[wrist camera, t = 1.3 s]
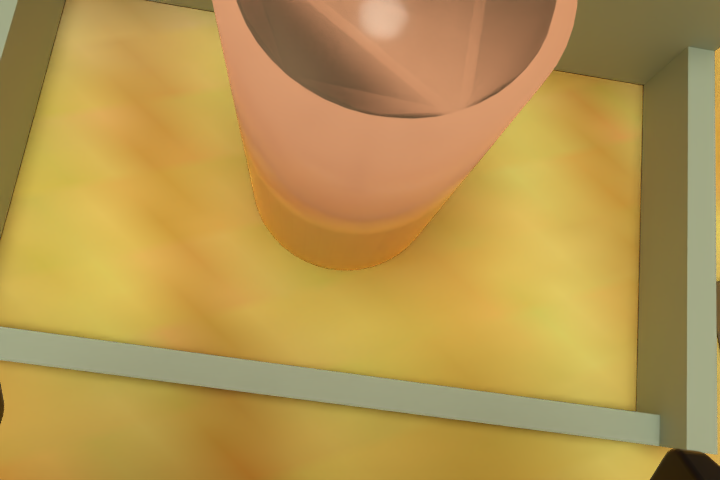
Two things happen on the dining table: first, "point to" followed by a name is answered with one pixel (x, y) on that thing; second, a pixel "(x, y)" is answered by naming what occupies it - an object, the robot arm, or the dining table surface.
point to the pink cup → (376, 109)
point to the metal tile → (718, 309)
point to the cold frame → (645, 426)
